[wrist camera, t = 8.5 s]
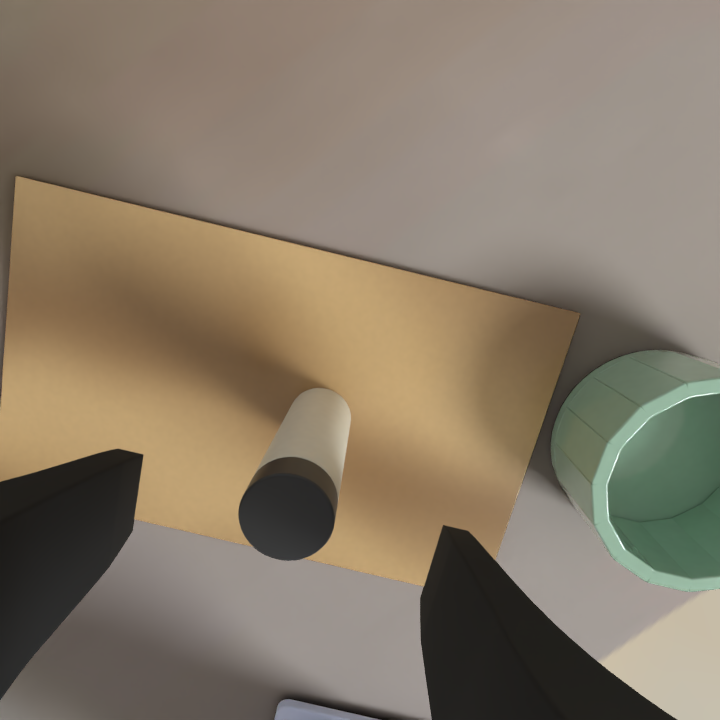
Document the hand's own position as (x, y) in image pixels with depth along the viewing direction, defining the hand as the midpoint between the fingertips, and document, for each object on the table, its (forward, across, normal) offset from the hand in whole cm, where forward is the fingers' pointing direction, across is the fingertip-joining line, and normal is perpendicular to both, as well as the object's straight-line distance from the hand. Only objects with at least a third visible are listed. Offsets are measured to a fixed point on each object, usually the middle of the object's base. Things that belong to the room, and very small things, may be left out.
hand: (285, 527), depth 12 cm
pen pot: (+8, -12, -2) cm, 14 cm away
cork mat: (+8, +2, 0) cm, 8 cm away
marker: (+7, 0, 0) cm, 7 cm away
